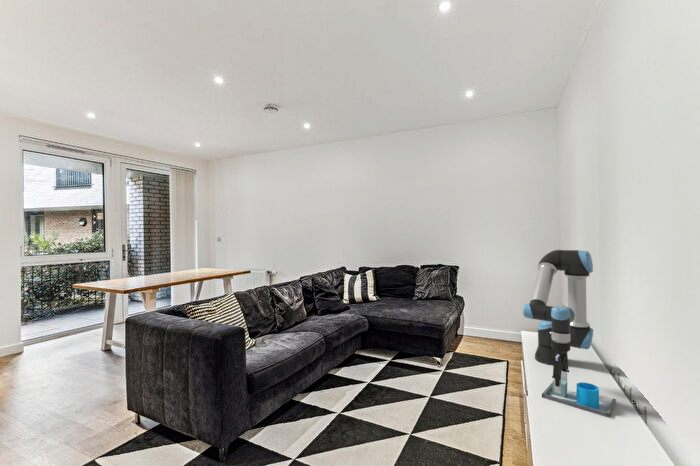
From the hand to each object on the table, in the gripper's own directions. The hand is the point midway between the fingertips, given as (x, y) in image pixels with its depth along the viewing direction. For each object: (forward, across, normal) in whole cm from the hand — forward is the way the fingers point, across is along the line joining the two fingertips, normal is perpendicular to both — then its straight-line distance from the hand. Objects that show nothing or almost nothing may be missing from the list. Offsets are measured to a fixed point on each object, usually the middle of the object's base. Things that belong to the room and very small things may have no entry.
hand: (560, 389), depth 163 cm
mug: (+3, +1, +10) cm, 11 cm away
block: (+3, 0, 0) cm, 3 cm away
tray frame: (+3, 0, +7) cm, 7 cm away
